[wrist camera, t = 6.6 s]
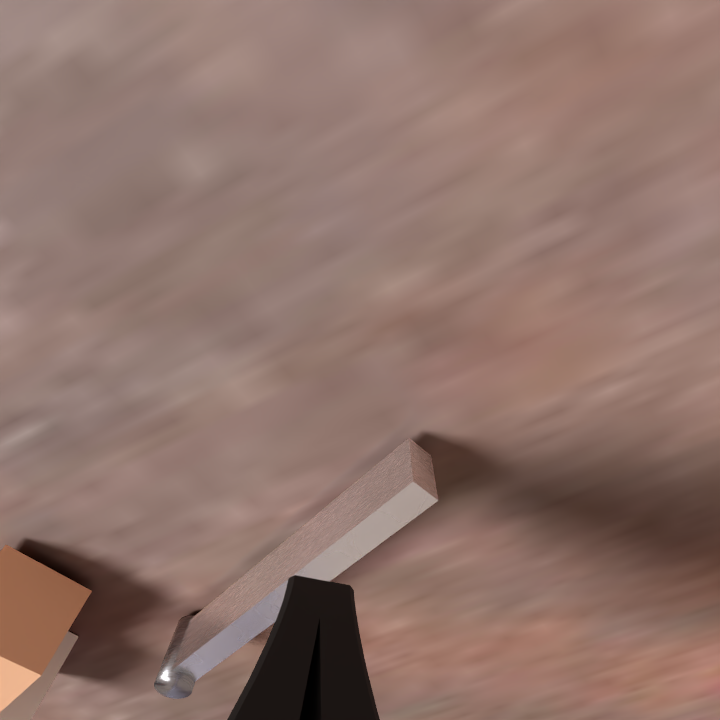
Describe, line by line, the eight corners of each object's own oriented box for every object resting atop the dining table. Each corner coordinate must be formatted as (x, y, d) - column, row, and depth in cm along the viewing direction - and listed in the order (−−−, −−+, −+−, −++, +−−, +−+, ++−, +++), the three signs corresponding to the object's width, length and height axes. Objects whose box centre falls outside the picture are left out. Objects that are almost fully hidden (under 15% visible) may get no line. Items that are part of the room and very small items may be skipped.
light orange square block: (91, 590, 19) (41, 675, 16) (50, 630, 20) (-4, 715, 17) (6, 544, 18) (-65, 626, 15) (-33, 589, 19) (-104, 672, 16)
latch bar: (199, 640, 20) (178, 702, 18) (171, 626, 20) (146, 687, 18) (434, 454, 15) (444, 509, 13) (403, 430, 15) (408, 482, 13)
